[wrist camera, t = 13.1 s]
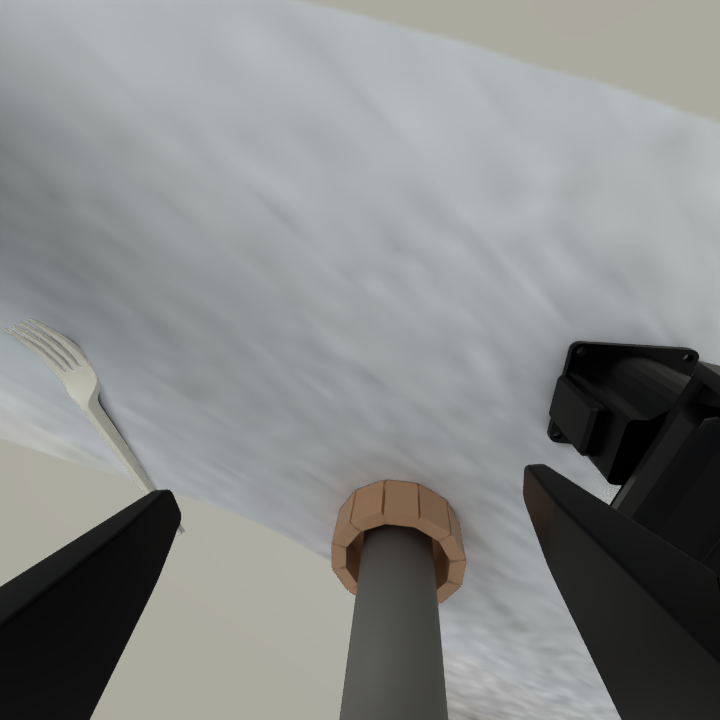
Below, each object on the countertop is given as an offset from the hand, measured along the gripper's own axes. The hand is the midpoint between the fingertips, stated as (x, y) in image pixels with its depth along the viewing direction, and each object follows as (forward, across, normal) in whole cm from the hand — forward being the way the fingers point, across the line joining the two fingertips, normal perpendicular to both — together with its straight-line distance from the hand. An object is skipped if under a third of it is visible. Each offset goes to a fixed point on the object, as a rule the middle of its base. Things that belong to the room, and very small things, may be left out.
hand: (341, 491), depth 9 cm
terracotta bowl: (+13, -1, +16) cm, 20 cm away
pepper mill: (+12, 0, +16) cm, 20 cm away
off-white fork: (+15, +20, +7) cm, 26 cm away
